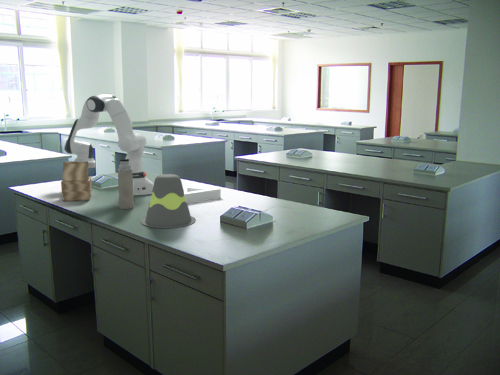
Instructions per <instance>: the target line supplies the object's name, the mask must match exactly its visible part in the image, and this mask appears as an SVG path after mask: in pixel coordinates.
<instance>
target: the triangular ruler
mask: <svg viewBox="0 0 500 375" xmlns="http://www.w3.org/2000/svg"><path fill="white" fill-rule="evenodd" d="M182 186H183V190H184V196H185V199H186V203H187V204H190V203H192V204H193V203H197V202H204V201H208V200H216V199H217V200H218V199H221V197H222V196H221V193H222V192H221V190H222V189H221V188H211V187H204V186H203V187H202V186H190V185H182Z"/></svg>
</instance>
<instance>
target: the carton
mask: <svg viewBox="0 0 500 375" xmlns="http://www.w3.org/2000/svg"><path fill="white" fill-rule="evenodd" d="M60 185H61V186H60V187H61V197H62V199H63V201H62V202H79V201H90V200H91V197H92V192H93V189H92V188H93V186H92V177H91V176H88V181H63V182H62V180H61V181H60Z"/></svg>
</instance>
